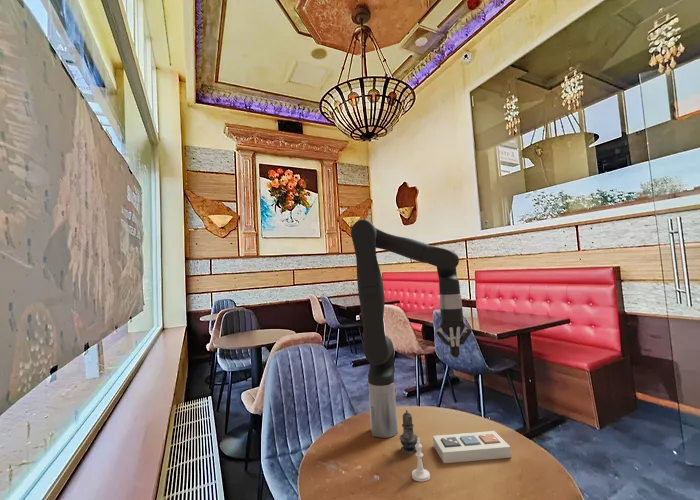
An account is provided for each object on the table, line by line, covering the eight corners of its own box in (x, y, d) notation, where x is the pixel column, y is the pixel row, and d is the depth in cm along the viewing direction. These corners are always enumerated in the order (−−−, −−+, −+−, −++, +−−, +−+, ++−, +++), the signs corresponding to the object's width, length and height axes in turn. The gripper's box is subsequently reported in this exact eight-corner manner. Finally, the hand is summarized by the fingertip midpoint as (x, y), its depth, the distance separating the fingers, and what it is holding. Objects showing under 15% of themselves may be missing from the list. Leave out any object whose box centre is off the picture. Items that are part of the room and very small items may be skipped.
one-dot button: (466, 452, 99) (465, 442, 99) (460, 444, 104) (460, 435, 104) (480, 451, 99) (479, 441, 100) (474, 443, 104) (473, 434, 104)
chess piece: (431, 472, 92) (428, 435, 93) (428, 483, 87) (425, 443, 88) (414, 469, 94) (411, 432, 95) (409, 479, 89) (407, 440, 90)
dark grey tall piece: (419, 455, 101) (416, 414, 102) (399, 454, 102) (396, 413, 103) (419, 445, 107) (416, 406, 108) (400, 444, 108) (397, 406, 109)
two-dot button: (486, 450, 100) (485, 441, 100) (479, 443, 104) (478, 434, 104) (500, 449, 100) (499, 440, 100) (493, 442, 104) (492, 433, 104)
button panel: (443, 463, 96) (443, 452, 96) (433, 445, 106) (432, 436, 106) (511, 457, 97) (510, 446, 97) (495, 440, 107) (494, 430, 107)
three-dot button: (446, 454, 99) (445, 444, 99) (441, 446, 103) (441, 437, 104) (461, 452, 99) (460, 443, 99) (455, 445, 104) (455, 436, 104)
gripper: (465, 304, 122) (469, 353, 121) (429, 307, 121) (433, 355, 120) (473, 306, 114) (478, 358, 113) (435, 309, 114) (439, 361, 112)
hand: (455, 356), depth 116 cm, fingers closed
